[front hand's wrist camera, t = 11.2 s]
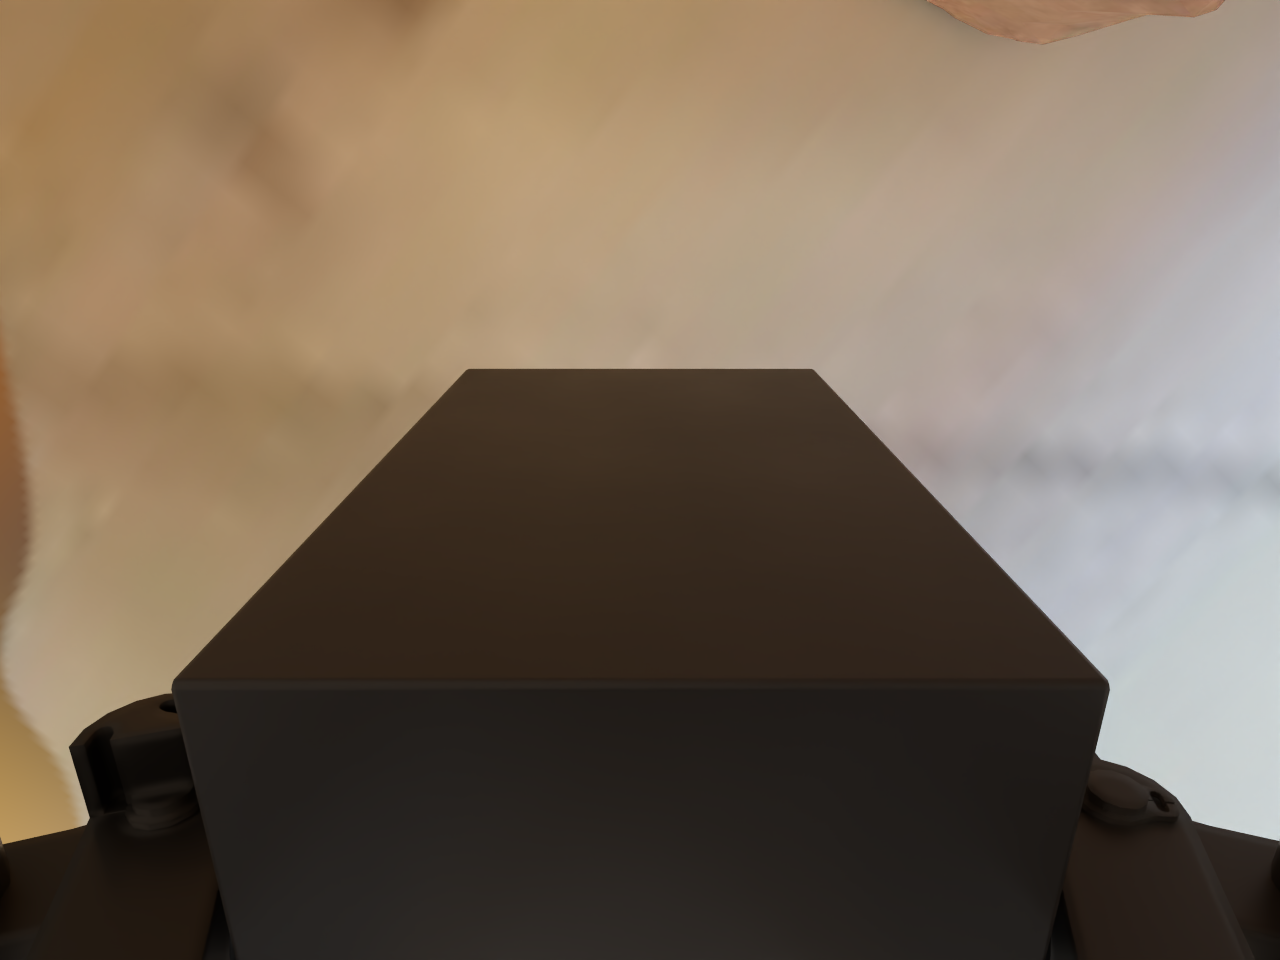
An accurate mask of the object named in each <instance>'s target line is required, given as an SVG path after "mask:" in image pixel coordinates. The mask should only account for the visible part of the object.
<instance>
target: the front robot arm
mask: <svg viewBox="0 0 1280 960" xmlns="http://www.w3.org/2000/svg"><path fill="white" fill-rule="evenodd" d="M69 749H70V753H71V756H72V759H73V763H74V766H75V769H76V773H77V776H78V779H79V783H80V786H81V789H82V793H83V796H84V800H85V803H86V806H87V810H88V813H89V816H90V819H89V821H88V823H87V825H85V826H81V827H78V828H74V829H70V830H66V831H61V832H57V833H52V834H48V835H43V836H39V837H34V838H30V839H25V840H21V841H16V842H12V843H7V844H2V841H1V838H0V960H236V959H235V954H234V950H233V946H232V942H231V938H230V933H229V929H228V925H227V921H226V917H225V912H224V908H223V904H222V900H221V896H220V891H219V887H218V883H217V879H216V875H215V870H214V866H213V862H212V858H211V854H210V849H209V845H208V841H207V837H206V833H205V828H204V824H203V820H202V816H201V812H200V807H199V803H198V799H197V795H196V791H195V786H194V782H193V778H192V774H191V769H190V765H189V761H188V757H187V753H186V748H185V744H184V740H183V736H182V732H181V727H180V723H179V719H178V715H177V711H176V706H175V702H174V698H173V694H163V695H159V696H155V697H151V698H147V699H143V700H139V701H135V702H133V703H131V704H128V705H126V706H124V707H122V708H119V709H117V710H115V711H112V712H110V713H108V714H106V715H105V716H103V717H102V718H100V719H99V720H97V721H96V722H94V723H93V724H91V725H90V726H88V727H87V728H85V729H84V730H83V731H82V732H81V733H80V735H79V736H78V737H77V738H76V739H75V740H74V742H73V743H72V744H71V745H70V746H69ZM1045 960H1280V841H1276V840H1271V839H1267V838H1262V837H1258V836H1253V835H1249V834H1244V833H1240V832H1235V831H1231V830H1226V829H1222V828H1217V827H1212V826H1208V825H1205V824H1201V823H1198V822H1194V821H1192V819H1191V817H1190V816H1189V814H1188V813H1187V812H1186V810H1185V809H1184V808H1183V806H1182V805H1181V803H1180V802H1179V801H1178V799H1177V798H1176V797H1175V796H1173V795H1172V794H1171V793H1170V792H1168V791H1167V790H1166V789H1164V788H1163V787H1162V786H1161V785H1159V784H1158V783H1157V782H1155V781H1154V780H1152V779H1150V778H1148V777H1146V776H1144V775H1142V774H1140V773H1138V772H1136V771H1134V770H1132V769H1130V768H1128V767H1125V766H1122V765H1118V764H1114V763H1111V762H1107V761H1104V760H1100V758H1099V757H1098V756H1097V755H1096V753H1095V754H1094V758H1093V762H1092V766H1091V771H1090V775H1089V779H1088V783H1087V787H1086V791H1085V796H1084V800H1083V804H1082V808H1081V812H1080V817H1079V821H1078V825H1077V829H1076V833H1075V837H1074V842H1073V846H1072V850H1071V854H1070V858H1069V863H1068V867H1067V871H1066V875H1065V879H1064V884H1063V888H1062V892H1061V896H1060V900H1059V904H1058V909H1057V913H1056V917H1055V921H1054V925H1053V930H1052V934H1051V938H1050V942H1049V946H1048V950H1047V955H1046V959H1045Z"/></svg>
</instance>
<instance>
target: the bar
mask: <svg viewBox="0 0 1280 960" xmlns="http://www.w3.org/2000/svg"><path fill="white" fill-rule="evenodd" d="M1109 691H1110V688H1109V683H1108V680H1107V679H1106V678H1105V677H1104V676H1103V675H1102V674H1101V673H1100V672H1099V670H1098V669H1097V668H1096V667H1095V666H1094V665H1093V664H1092V663H1091V662H1090V661H1089V660H1088V659H1087V658H1086V657H1085V656H1084V655H1083V654H1082V653H1081V651H1080V650H1079V649H1078V648H1077V647H1076V646H1075V645H1074V644H1073V643H1072V642H1071V641H1070V640H1069V639H1068V638H1067V637H1066V636H1065V635H1064V634H1063V632H1062V631H1061V630H1060V629H1059V628H1058V627H1057V626H1056V625H1055V624H1054V623H1053V622H1052V621H1051V620H1050V619H1049V618H1048V617H1047V616H1046V615H1045V613H1044V612H1043V611H1042V610H1041V609H1040V608H1039V607H1038V606H1037V605H1036V604H1035V603H1034V602H1033V601H1032V600H1031V599H1030V598H1029V597H1028V596H1027V594H1026V593H1025V592H1024V591H1023V590H1022V589H1021V588H1020V587H1019V586H1018V585H1017V584H1016V583H1015V582H1014V581H1013V580H1012V579H1011V578H1010V577H1009V575H1008V574H1007V573H1006V572H1005V571H1004V570H1003V569H1002V568H1001V567H1000V566H999V565H998V564H997V563H996V562H995V561H994V560H993V559H992V558H991V556H990V555H989V554H988V553H987V552H986V551H985V550H984V549H983V548H982V547H981V546H980V545H979V544H978V543H977V542H976V541H975V540H974V539H973V537H972V536H971V535H970V534H969V533H968V532H967V531H966V530H965V529H964V528H963V527H962V526H961V525H960V524H959V523H958V522H957V521H956V520H955V518H954V517H953V516H952V515H951V514H950V513H949V512H948V511H947V510H946V509H945V508H944V507H943V506H942V505H941V504H940V503H939V502H938V501H937V499H936V498H935V497H934V496H933V495H932V494H931V493H930V492H929V491H928V490H927V489H926V488H925V487H924V486H923V485H922V484H921V483H920V482H919V480H918V479H917V478H916V477H915V476H914V475H913V474H912V473H911V472H910V471H909V470H908V469H907V468H906V467H905V466H904V465H903V464H902V463H901V461H900V460H899V459H898V458H897V457H896V456H895V455H894V454H893V453H892V452H891V451H890V450H889V449H888V448H887V447H886V446H885V445H884V444H883V442H882V441H881V440H880V439H879V438H878V437H877V436H876V435H875V434H874V433H873V432H872V431H871V430H870V429H869V428H868V427H867V426H866V425H865V423H864V422H863V421H862V420H861V419H860V418H859V417H858V416H857V415H856V414H855V413H854V412H853V411H852V410H851V409H850V408H849V407H848V406H847V404H846V403H845V402H844V401H843V400H842V399H841V398H840V397H839V396H838V395H837V394H836V393H835V392H834V391H833V390H832V389H831V388H830V387H829V385H828V384H827V383H826V382H825V381H824V380H823V379H822V378H821V377H820V376H819V375H818V374H817V373H816V372H815V371H814V370H813V369H468V370H466V371H465V372H464V373H463V374H462V375H461V376H460V378H459V379H458V380H457V381H456V382H455V383H454V384H453V385H452V386H451V387H450V388H449V389H448V390H447V391H446V392H445V393H444V394H443V396H442V397H441V398H440V399H439V400H438V401H437V402H436V403H435V404H434V405H433V406H432V407H431V408H430V409H429V410H428V411H427V412H426V414H425V415H424V416H423V417H422V418H421V419H420V420H419V421H418V422H417V423H416V424H415V425H414V426H413V427H412V428H411V429H410V430H409V431H408V433H407V434H406V435H405V436H404V437H403V438H402V439H401V440H400V441H399V442H398V443H397V444H396V445H395V446H394V447H393V448H392V449H391V451H390V452H389V453H388V454H387V455H386V456H385V457H384V458H383V459H382V460H381V461H380V462H379V463H378V464H377V465H376V466H375V467H374V469H373V470H372V471H371V472H370V473H369V474H368V475H367V476H366V477H365V478H364V479H363V480H362V481H361V482H360V483H359V484H358V485H357V487H356V488H355V489H354V490H353V491H352V492H351V493H350V494H349V495H348V496H347V497H346V498H345V499H344V500H343V501H342V502H341V503H340V505H339V506H338V507H337V508H336V509H335V510H334V511H333V512H332V513H331V514H330V515H329V516H328V517H327V518H326V519H325V520H324V521H323V522H322V524H321V525H320V526H319V527H318V528H317V529H316V530H315V531H314V532H313V533H312V534H311V535H310V536H309V537H308V538H307V539H306V540H305V542H304V543H303V544H302V545H301V546H300V547H299V548H298V549H297V550H296V551H295V552H294V553H293V554H292V555H291V556H290V557H289V558H288V560H287V561H286V562H285V563H284V564H283V565H282V566H281V567H280V568H279V569H278V570H277V571H276V572H275V573H274V574H273V575H272V576H271V578H270V579H269V580H268V581H267V582H266V583H265V584H264V585H263V586H262V587H261V588H260V589H259V590H258V591H257V592H256V593H255V594H254V595H253V597H252V598H251V599H250V600H249V601H248V602H247V603H246V604H245V605H244V606H243V607H242V608H241V609H240V610H239V611H238V612H237V613H236V615H235V616H234V617H233V618H232V619H231V620H230V621H229V622H228V623H227V624H226V625H225V626H224V627H223V628H222V629H221V630H220V631H219V633H218V634H217V635H216V636H215V637H214V638H213V639H212V640H211V641H210V642H209V643H208V644H207V645H206V646H205V647H204V648H203V649H202V651H201V652H200V653H199V654H198V655H197V656H196V657H195V658H194V659H193V660H192V661H191V662H190V663H189V664H188V665H187V666H186V667H185V668H184V670H183V671H182V672H181V673H180V674H179V675H178V676H177V677H176V678H175V679H174V681H173V684H172V694H173V698H174V702H175V706H176V711H177V715H178V719H179V723H180V727H181V732H182V736H183V740H184V744H185V748H186V753H187V757H188V761H189V765H190V769H191V774H192V778H193V782H194V786H195V791H196V795H197V799H198V803H199V807H200V812H201V816H202V820H203V824H204V828H205V833H206V837H207V841H208V845H209V849H210V854H211V858H212V862H213V866H214V870H215V875H216V879H217V883H218V887H219V891H220V896H221V900H222V904H223V908H224V912H225V917H226V921H227V925H228V929H229V933H230V938H231V942H232V946H233V950H234V954H235V959H236V960H1045V959H1046V955H1047V950H1048V946H1049V942H1050V938H1051V934H1052V930H1053V925H1054V921H1055V917H1056V913H1057V909H1058V904H1059V900H1060V896H1061V892H1062V888H1063V884H1064V879H1065V875H1066V871H1067V867H1068V863H1069V858H1070V854H1071V850H1072V846H1073V842H1074V837H1075V833H1076V829H1077V825H1078V821H1079V817H1080V812H1081V808H1082V804H1083V800H1084V796H1085V791H1086V787H1087V783H1088V779H1089V775H1090V771H1091V766H1092V762H1093V758H1094V754H1095V750H1096V745H1097V741H1098V737H1099V733H1100V729H1101V725H1102V720H1103V716H1104V712H1105V708H1106V704H1107V699H1108V695H1109Z"/></svg>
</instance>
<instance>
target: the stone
mask: <svg viewBox="0 0 1280 960" xmlns="http://www.w3.org/2000/svg"><path fill="white" fill-rule="evenodd" d="M926 1H928V2H930V3H932V4H934V5H936V6H938V7H940V8H942V9H944V10H945V11H946V12H948V13H949V14H950V15H952V16H953V17H954V18H956V19H958V20H960V21H962V22H964V23H966V24H968V25H970V26H972V27H974V28H976V29H978V30H980V31H982V32H984V33H986V34H990V35H995V36H1000V37H1005V38H1010V39H1014V40H1017V41H1023V42H1030V43H1037V44H1046V43H1050V42H1054V41H1058V40H1062V39H1066V38H1070V37H1074V36H1078V35H1081V34H1084V33H1088V32H1091V31H1094V30H1098V29H1101V28H1104V27H1107V26H1111V25H1114V24H1117V23H1121V22H1124V21H1127V20H1130V19H1134V18H1137V17H1141V16H1144V15H1148V14H1149V15H1166V16H1183V17H1196V16H1199V15H1202V14H1205V13H1208V12H1211V11H1214V10H1217V8H1218V7H1219V6H1220V5H1221V4H1222V3H1223V2H1224V1H1225V0H926Z"/></svg>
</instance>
